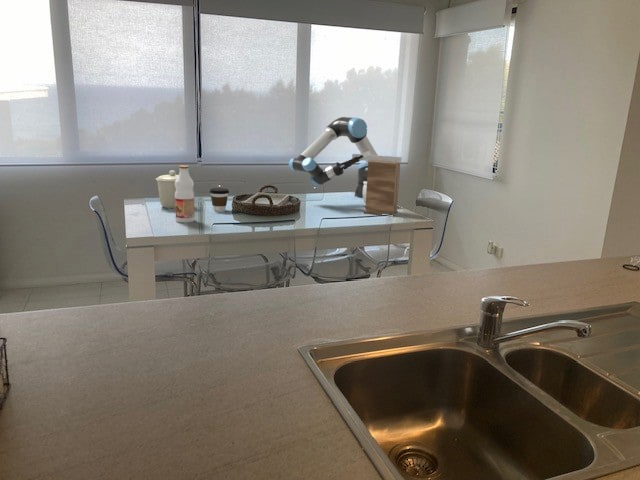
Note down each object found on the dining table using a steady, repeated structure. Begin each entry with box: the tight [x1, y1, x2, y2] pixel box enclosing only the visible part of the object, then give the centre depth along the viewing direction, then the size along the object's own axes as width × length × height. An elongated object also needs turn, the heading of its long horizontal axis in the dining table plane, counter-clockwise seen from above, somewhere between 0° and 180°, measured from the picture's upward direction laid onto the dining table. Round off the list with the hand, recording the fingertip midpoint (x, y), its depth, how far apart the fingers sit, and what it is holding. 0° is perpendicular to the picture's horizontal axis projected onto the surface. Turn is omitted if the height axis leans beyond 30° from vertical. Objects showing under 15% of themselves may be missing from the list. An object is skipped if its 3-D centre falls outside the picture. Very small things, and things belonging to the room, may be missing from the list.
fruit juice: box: [175, 164, 196, 224], centre depth 267 cm, size 9×9×28 cm
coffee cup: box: [208, 187, 230, 213], centre depth 298 cm, size 11×11×12 cm
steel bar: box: [351, 153, 403, 164], centre depth 305 cm, size 4×28×3 cm, turn 70°
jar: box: [362, 181, 367, 207], centre depth 331 cm, size 11×10×15 cm
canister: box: [155, 169, 179, 210], centre depth 301 cm, size 18×18×21 cm
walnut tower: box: [363, 161, 401, 216], centre depth 307 cm, size 13×17×30 cm
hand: (369, 153), depth 305 cm, fingers closed on steel bar, 4 cm apart
